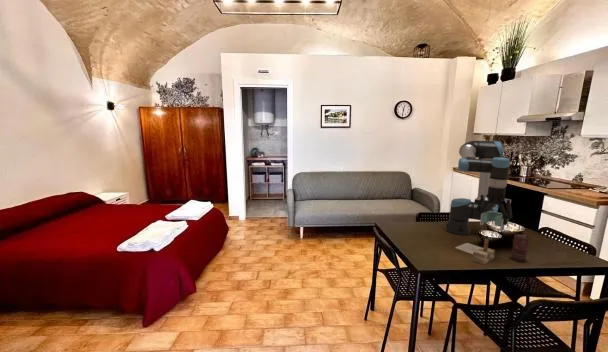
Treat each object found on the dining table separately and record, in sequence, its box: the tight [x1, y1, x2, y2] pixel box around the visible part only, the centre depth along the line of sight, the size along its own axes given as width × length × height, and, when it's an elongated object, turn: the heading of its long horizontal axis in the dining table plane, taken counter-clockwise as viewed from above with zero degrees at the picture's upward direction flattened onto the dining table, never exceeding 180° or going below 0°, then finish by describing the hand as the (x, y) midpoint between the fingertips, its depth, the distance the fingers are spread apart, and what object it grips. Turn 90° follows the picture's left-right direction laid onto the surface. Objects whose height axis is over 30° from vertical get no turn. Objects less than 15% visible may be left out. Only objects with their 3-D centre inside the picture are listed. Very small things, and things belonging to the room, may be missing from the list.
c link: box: [481, 211, 509, 228], centre depth 142 cm, size 9×9×5 cm
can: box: [511, 233, 530, 263], centre depth 140 cm, size 6×6×14 cm
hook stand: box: [471, 238, 496, 266], centre depth 140 cm, size 13×5×12 cm, turn 123°
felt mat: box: [454, 242, 482, 255], centre depth 153 cm, size 14×14×1 cm
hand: (491, 227), depth 141 cm, fingers closed on c link, 9 cm apart
